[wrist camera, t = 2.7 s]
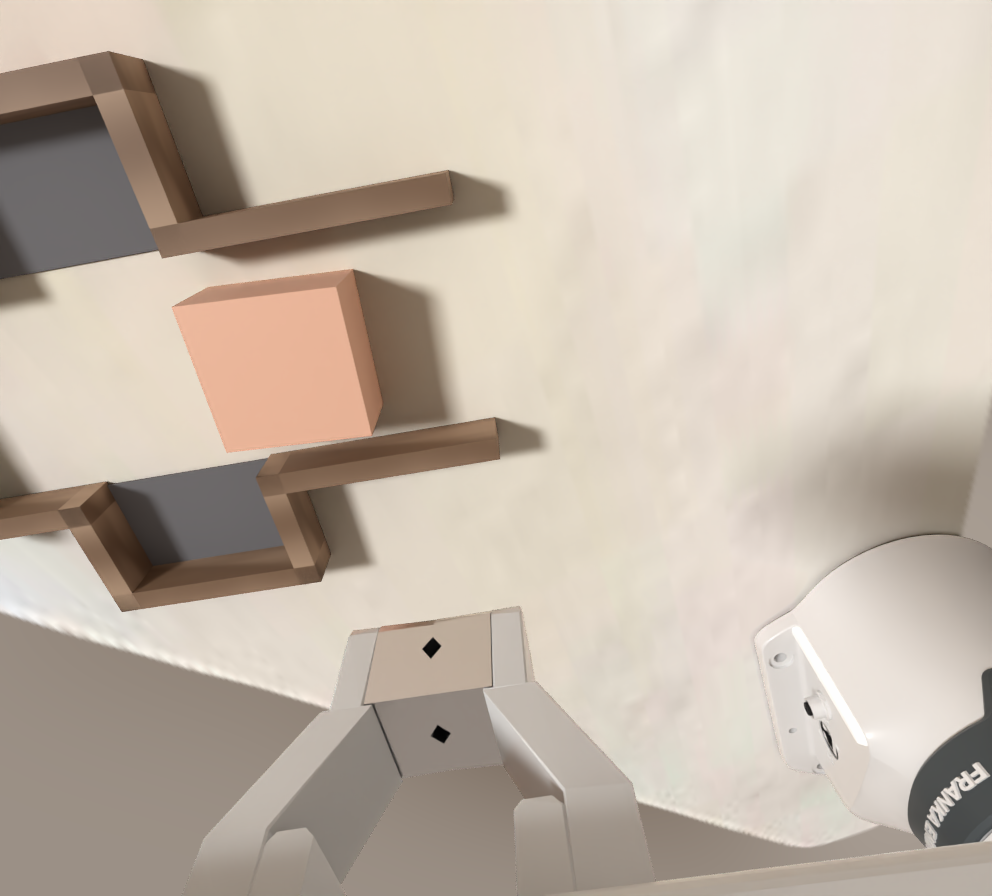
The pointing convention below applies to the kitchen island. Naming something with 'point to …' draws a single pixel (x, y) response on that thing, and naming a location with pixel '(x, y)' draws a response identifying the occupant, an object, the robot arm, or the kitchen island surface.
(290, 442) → the block
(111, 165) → the box
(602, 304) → the kitchen island surface
